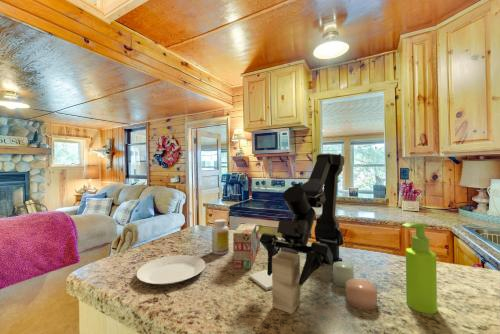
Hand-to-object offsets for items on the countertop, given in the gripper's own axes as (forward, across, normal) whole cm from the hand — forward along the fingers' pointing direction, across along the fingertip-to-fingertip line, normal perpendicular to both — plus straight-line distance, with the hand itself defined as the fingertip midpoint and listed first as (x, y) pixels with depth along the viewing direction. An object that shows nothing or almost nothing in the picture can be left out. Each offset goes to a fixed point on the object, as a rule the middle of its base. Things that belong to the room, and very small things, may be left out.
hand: (283, 279), depth 55 cm
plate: (+8, -38, +2) cm, 39 cm away
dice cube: (-19, -15, +29) cm, 38 cm away
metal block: (+4, 0, +6) cm, 7 cm away
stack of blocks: (-10, -26, +20) cm, 34 cm away
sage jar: (-10, +9, +19) cm, 23 cm away
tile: (-2, -10, +12) cm, 16 cm away
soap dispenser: (-9, +26, +18) cm, 33 cm away
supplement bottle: (-8, -38, +18) cm, 43 cm away
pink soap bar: (-5, +15, +14) cm, 21 cm away
